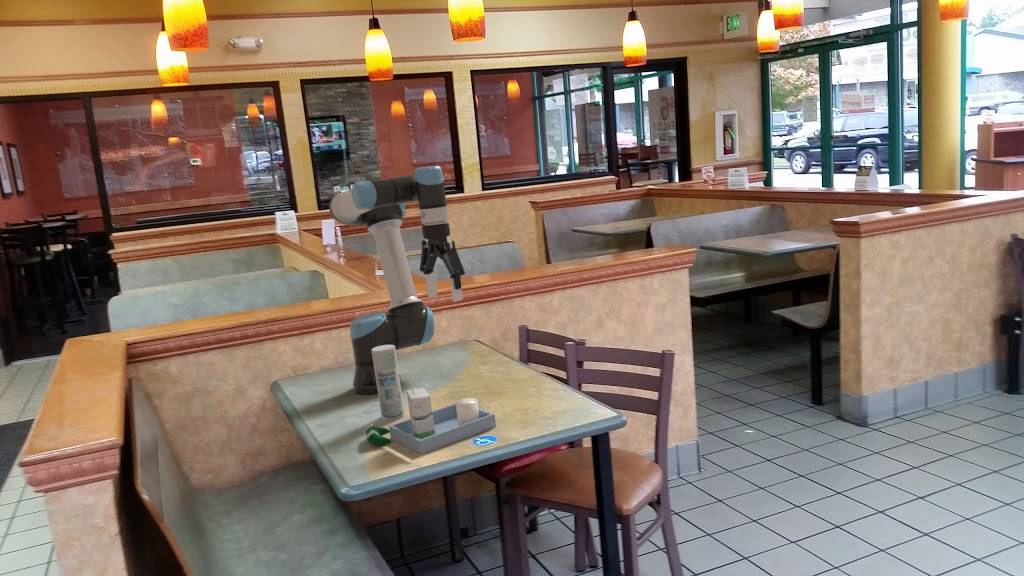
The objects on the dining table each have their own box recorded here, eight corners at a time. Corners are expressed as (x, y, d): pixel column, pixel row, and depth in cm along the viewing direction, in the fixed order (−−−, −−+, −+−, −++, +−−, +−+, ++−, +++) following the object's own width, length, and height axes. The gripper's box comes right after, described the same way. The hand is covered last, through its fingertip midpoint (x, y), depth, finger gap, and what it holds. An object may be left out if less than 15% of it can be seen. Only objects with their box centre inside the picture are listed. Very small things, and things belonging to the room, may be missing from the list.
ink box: (437, 440, 189) (431, 395, 187) (417, 444, 188) (411, 399, 186) (430, 429, 198) (424, 386, 195) (411, 433, 196) (405, 390, 194)
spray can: (404, 411, 217) (394, 343, 213) (405, 418, 210) (395, 348, 207) (381, 414, 216) (371, 346, 212) (381, 422, 209) (371, 352, 206)
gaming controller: (382, 441, 200) (363, 429, 199) (391, 430, 200) (372, 418, 199) (383, 454, 191) (363, 442, 190) (392, 442, 191) (372, 430, 190)
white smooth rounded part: (453, 429, 195) (451, 403, 194) (468, 422, 200) (466, 396, 198) (469, 432, 192) (466, 406, 191) (484, 425, 196) (481, 399, 195)
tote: (391, 440, 195) (388, 425, 194) (462, 415, 207) (461, 401, 207) (421, 456, 182) (419, 441, 181) (496, 429, 195) (494, 414, 194)
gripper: (401, 224, 217) (411, 297, 221) (447, 225, 197) (457, 305, 201) (424, 220, 221) (434, 291, 225) (471, 221, 201) (480, 299, 205)
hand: (445, 298), depth 213 cm, fingers open, 13 cm apart
